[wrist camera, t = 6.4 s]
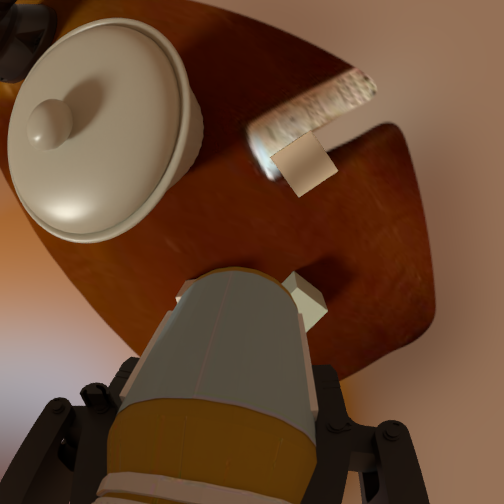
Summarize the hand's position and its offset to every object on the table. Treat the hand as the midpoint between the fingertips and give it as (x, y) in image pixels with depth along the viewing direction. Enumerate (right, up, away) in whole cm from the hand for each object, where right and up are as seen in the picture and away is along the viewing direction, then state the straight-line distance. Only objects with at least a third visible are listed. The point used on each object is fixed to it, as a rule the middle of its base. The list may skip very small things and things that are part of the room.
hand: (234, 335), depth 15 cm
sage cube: (+7, -1, +23) cm, 24 cm away
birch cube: (+7, +15, +18) cm, 24 cm away
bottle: (0, +1, +2) cm, 2 cm away
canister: (-11, +19, +17) cm, 28 cm away
